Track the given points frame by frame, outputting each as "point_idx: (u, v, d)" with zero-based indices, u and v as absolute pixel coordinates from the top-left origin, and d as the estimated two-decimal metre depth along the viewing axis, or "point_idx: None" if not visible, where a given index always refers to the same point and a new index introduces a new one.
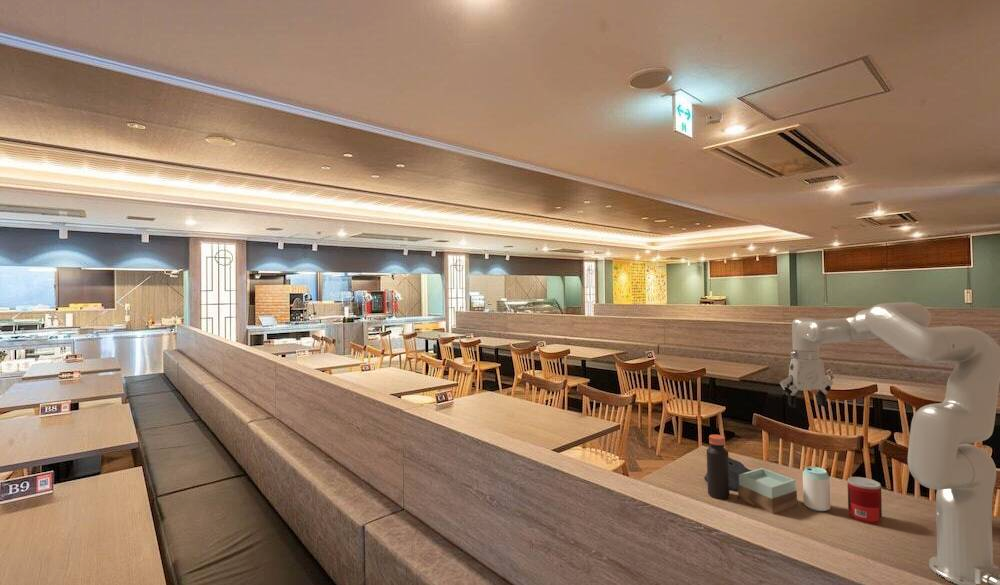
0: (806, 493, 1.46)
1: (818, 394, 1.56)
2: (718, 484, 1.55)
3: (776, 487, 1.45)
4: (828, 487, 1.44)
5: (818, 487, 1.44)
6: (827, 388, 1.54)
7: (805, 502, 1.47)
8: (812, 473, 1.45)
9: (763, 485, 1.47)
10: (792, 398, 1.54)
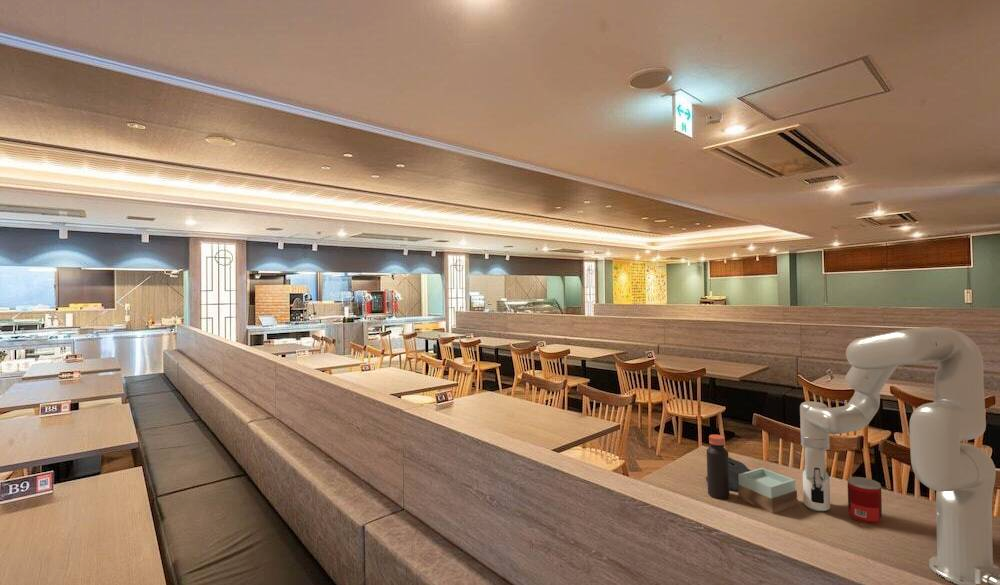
0: (806, 493, 1.46)
1: None
2: (717, 484, 1.55)
3: (775, 487, 1.45)
4: (828, 487, 1.44)
5: None
6: None
7: (805, 502, 1.47)
8: None
9: (762, 485, 1.47)
10: None
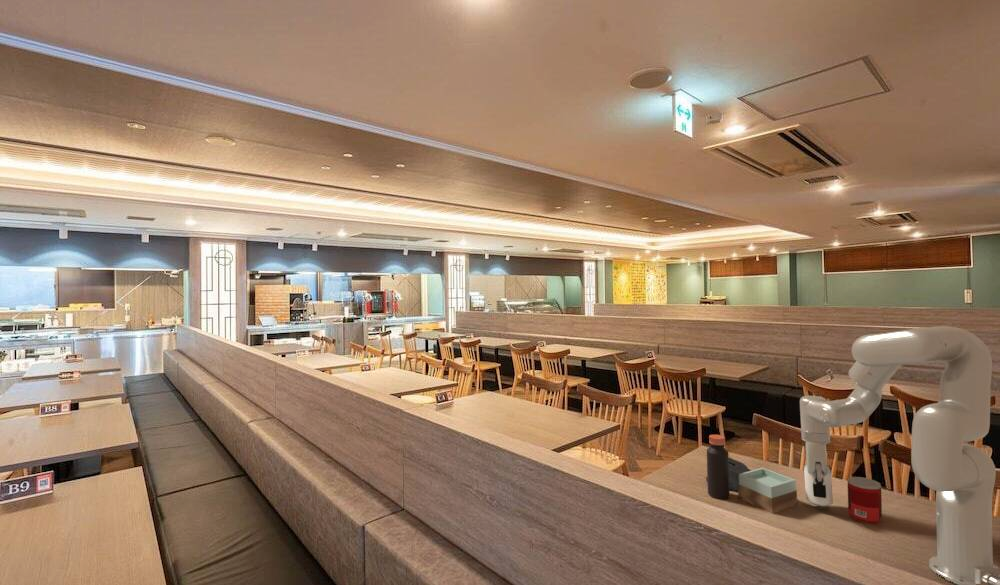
0: (808, 488, 1.46)
1: None
2: (718, 484, 1.55)
3: (775, 486, 1.45)
4: (830, 481, 1.43)
5: None
6: None
7: (807, 497, 1.46)
8: None
9: (763, 485, 1.47)
10: None
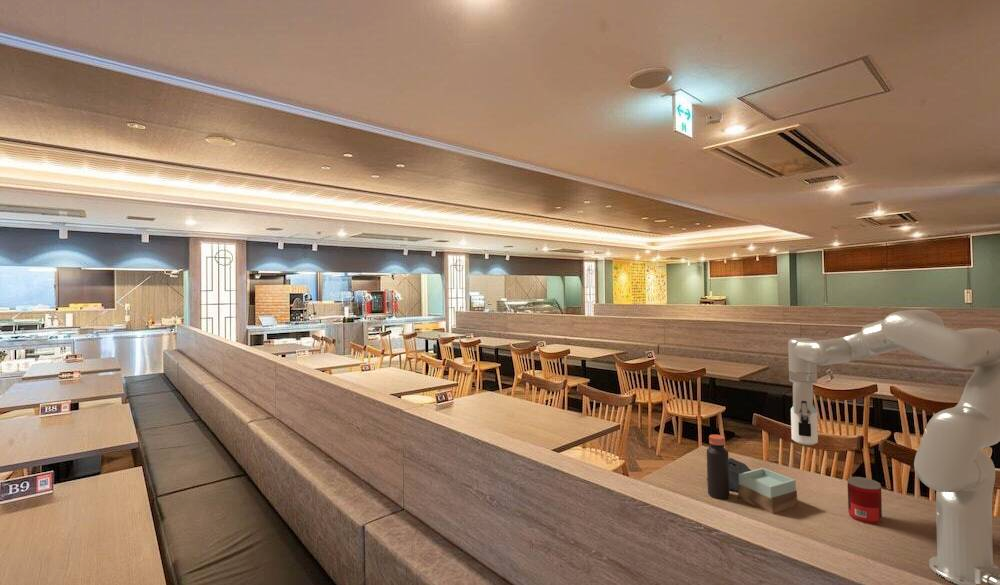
0: (794, 427, 1.47)
1: None
2: (717, 484, 1.55)
3: (775, 486, 1.45)
4: (815, 421, 1.45)
5: None
6: None
7: (793, 437, 1.48)
8: None
9: (762, 485, 1.47)
10: None
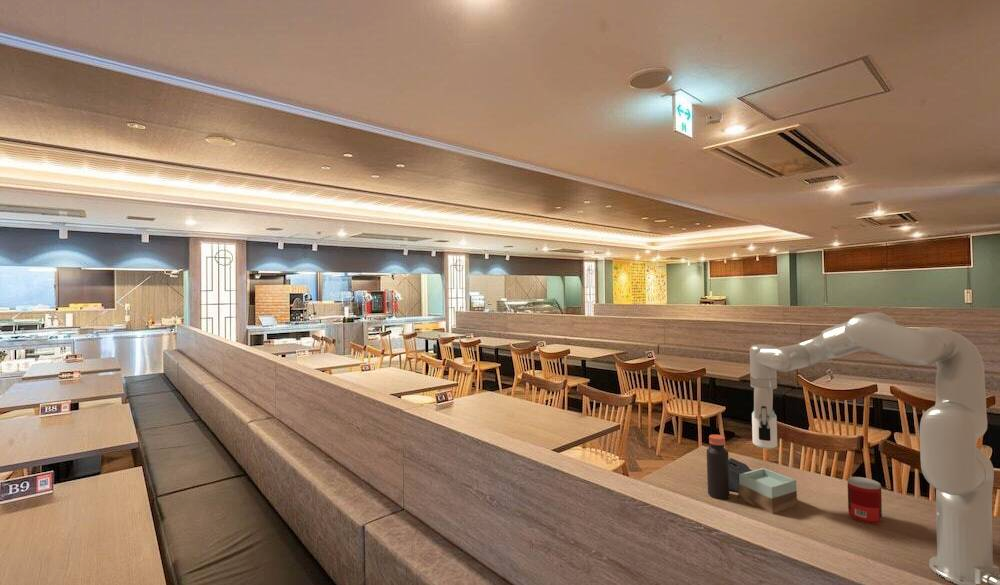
0: (754, 432, 1.51)
1: None
2: (717, 484, 1.55)
3: (776, 487, 1.45)
4: (775, 425, 1.49)
5: None
6: None
7: (753, 441, 1.52)
8: None
9: (763, 485, 1.47)
10: None
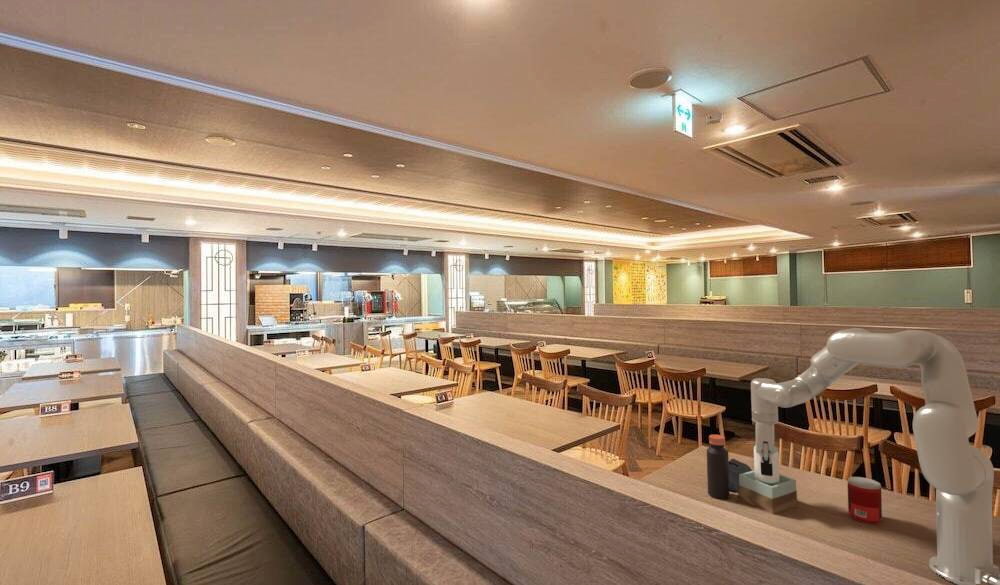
0: (756, 466, 1.51)
1: None
2: (718, 484, 1.55)
3: (776, 487, 1.45)
4: (777, 460, 1.49)
5: None
6: None
7: (756, 475, 1.52)
8: None
9: (763, 485, 1.46)
10: None
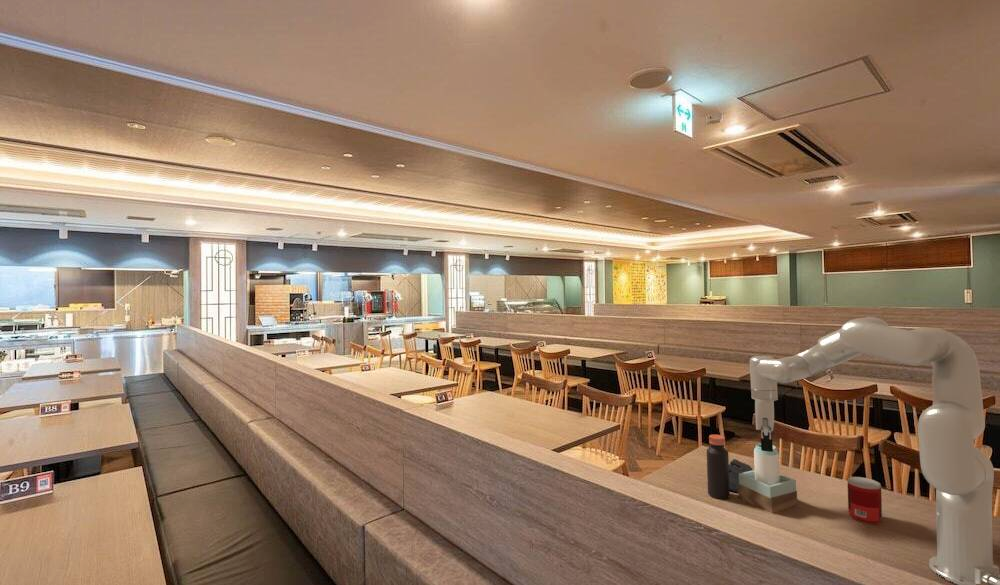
0: (757, 468, 1.52)
1: None
2: (717, 484, 1.55)
3: (774, 486, 1.45)
4: (777, 462, 1.49)
5: (767, 463, 1.49)
6: None
7: (756, 477, 1.52)
8: None
9: (762, 484, 1.47)
10: None
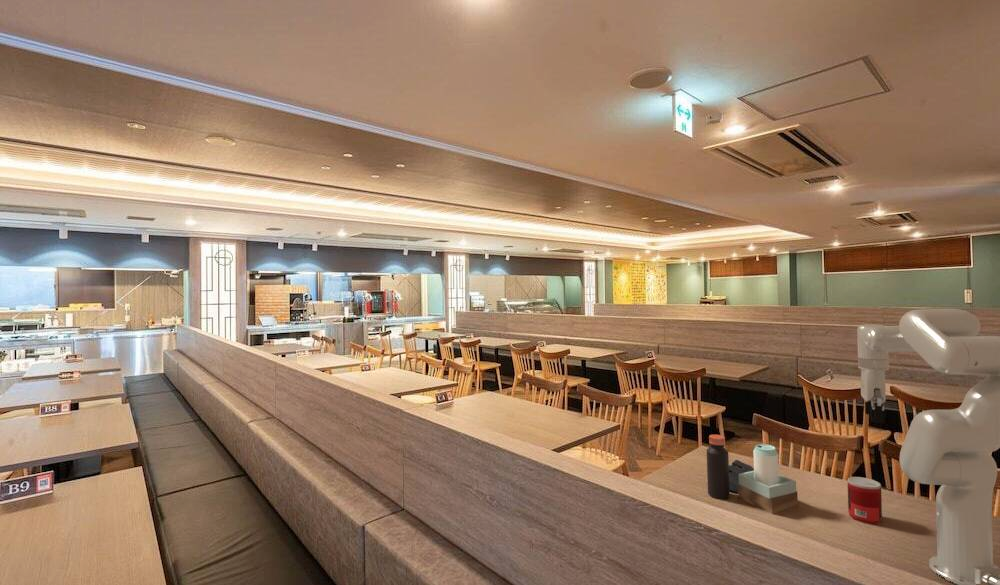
0: (756, 469, 1.51)
1: None
2: (717, 484, 1.55)
3: (774, 487, 1.45)
4: (776, 463, 1.49)
5: (766, 463, 1.49)
6: (875, 404, 1.39)
7: (755, 478, 1.52)
8: (761, 450, 1.50)
9: (761, 485, 1.47)
10: None
